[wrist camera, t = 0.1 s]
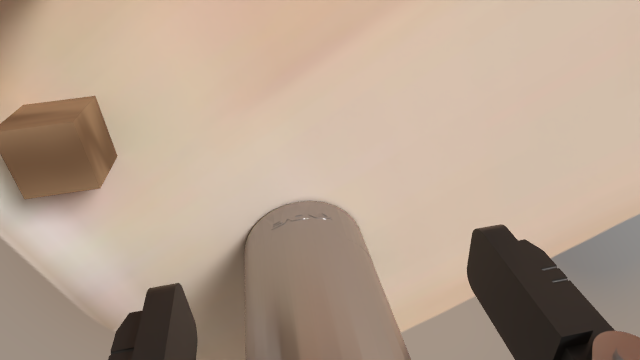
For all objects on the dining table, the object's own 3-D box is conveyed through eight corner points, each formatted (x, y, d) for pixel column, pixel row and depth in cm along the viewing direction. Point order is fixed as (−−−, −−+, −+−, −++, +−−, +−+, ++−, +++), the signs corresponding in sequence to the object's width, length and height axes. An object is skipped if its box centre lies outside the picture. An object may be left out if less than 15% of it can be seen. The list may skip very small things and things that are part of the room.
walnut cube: (117, 155, 27) (100, 188, 24) (51, 164, 27) (24, 199, 23) (95, 95, 25) (73, 121, 22) (23, 104, 25) (-11, 132, 21)
